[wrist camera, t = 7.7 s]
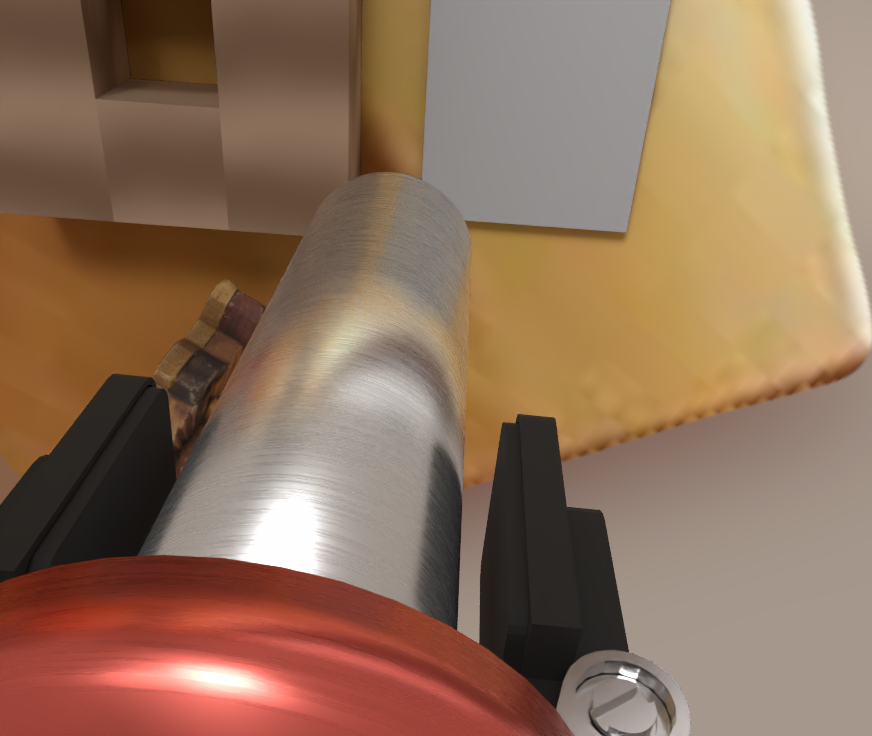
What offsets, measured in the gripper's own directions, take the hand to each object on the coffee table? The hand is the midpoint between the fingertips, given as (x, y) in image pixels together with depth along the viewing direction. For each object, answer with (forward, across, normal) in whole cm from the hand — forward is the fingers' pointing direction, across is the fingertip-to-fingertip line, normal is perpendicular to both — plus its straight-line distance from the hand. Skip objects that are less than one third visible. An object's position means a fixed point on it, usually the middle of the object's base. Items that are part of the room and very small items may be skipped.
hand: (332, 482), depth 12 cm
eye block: (+29, +11, -2) cm, 31 cm away
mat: (+29, -5, 0) cm, 29 cm away
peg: (+9, 0, 0) cm, 9 cm away
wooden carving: (+29, +11, +16) cm, 35 cm away
